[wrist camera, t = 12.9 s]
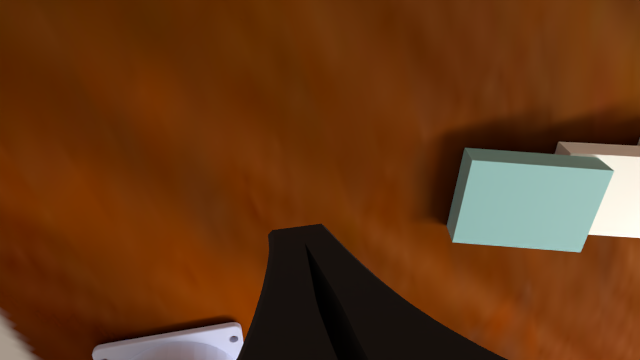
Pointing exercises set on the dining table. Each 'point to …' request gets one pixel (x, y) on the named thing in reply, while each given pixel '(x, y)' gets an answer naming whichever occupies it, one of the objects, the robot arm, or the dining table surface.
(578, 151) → the domino
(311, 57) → the dining table surface
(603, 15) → the dining table surface
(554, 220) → the domino teal
